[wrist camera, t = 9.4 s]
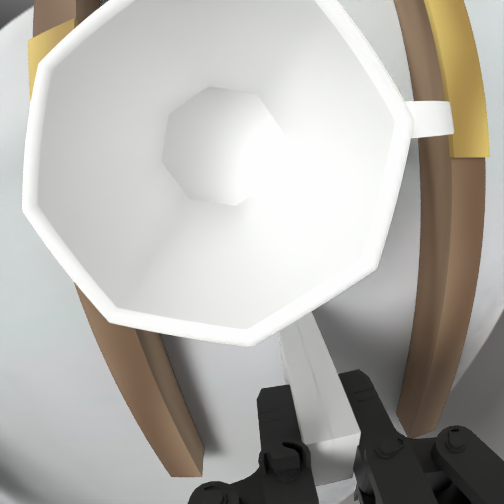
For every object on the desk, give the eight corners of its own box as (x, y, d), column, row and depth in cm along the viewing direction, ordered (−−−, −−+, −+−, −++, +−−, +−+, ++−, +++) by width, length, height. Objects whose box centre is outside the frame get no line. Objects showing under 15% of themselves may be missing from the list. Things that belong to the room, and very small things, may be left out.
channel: (174, 448, 18) (170, 479, 15) (65, -46, 8) (41, -68, 5) (421, 405, 18) (437, 432, 15) (397, -78, 8) (418, -101, 5)
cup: (122, 87, 11) (-6, 44, 3) (359, 43, 11) (481, -28, 3) (162, 246, 13) (88, 370, 6) (387, 200, 13) (519, 270, 6)
